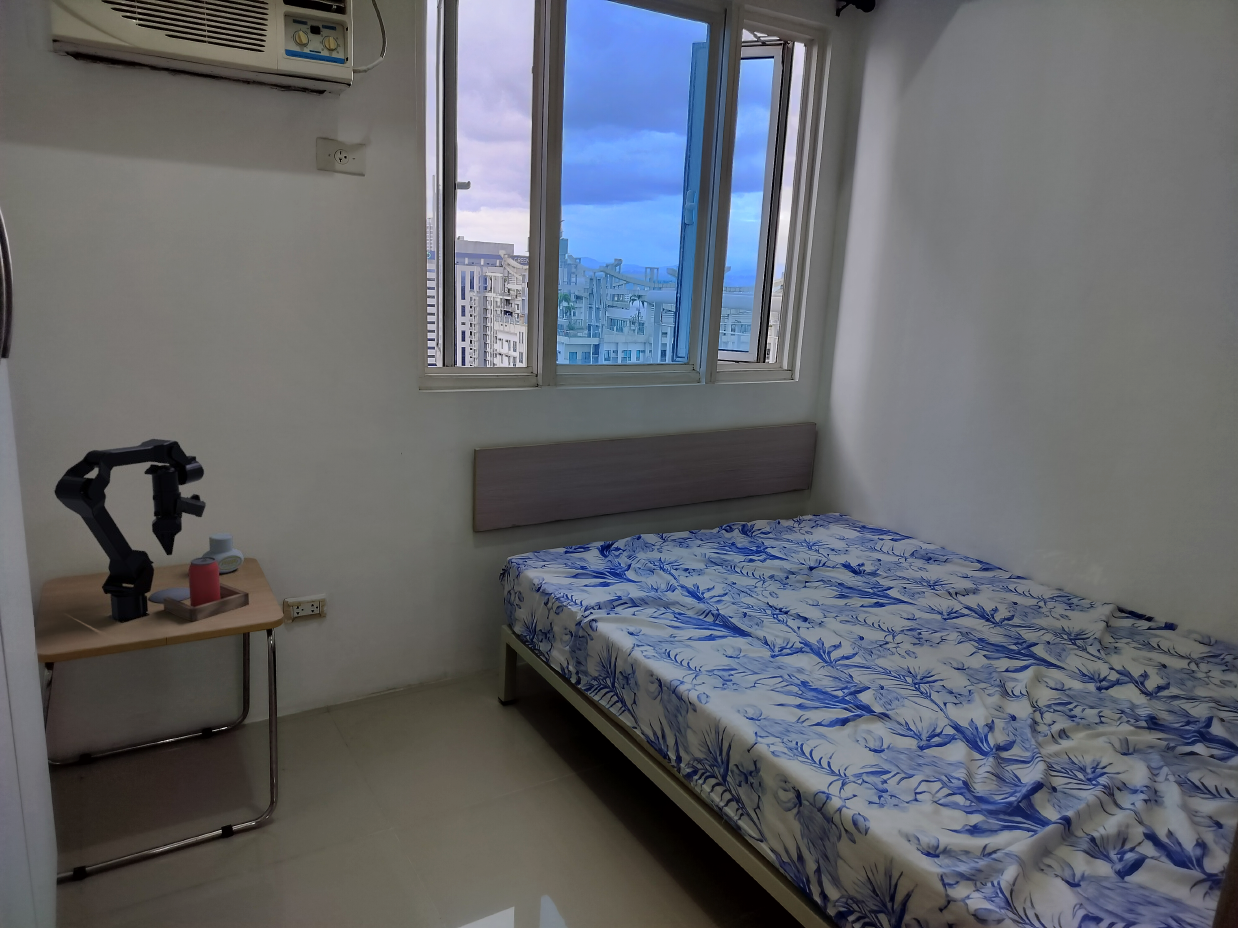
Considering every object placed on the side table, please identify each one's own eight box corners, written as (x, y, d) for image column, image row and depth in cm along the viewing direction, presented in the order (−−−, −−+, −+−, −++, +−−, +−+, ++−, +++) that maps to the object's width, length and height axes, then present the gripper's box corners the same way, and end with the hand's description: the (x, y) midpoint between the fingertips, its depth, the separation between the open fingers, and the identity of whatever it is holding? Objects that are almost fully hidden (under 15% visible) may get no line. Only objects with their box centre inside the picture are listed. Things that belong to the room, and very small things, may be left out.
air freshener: (210, 578, 214) (208, 542, 212) (195, 571, 219) (193, 536, 217) (249, 569, 223) (247, 535, 221) (234, 562, 228) (232, 529, 226)
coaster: (163, 605, 194) (163, 604, 194) (141, 596, 199) (141, 595, 199) (202, 594, 202) (202, 593, 202) (181, 586, 207) (180, 584, 207)
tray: (192, 621, 185) (191, 609, 185) (164, 609, 191) (163, 597, 191) (249, 604, 197) (248, 593, 197) (220, 593, 204) (219, 582, 203)
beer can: (226, 602, 198) (223, 557, 195) (210, 612, 191) (207, 565, 189) (201, 600, 198) (198, 555, 196) (184, 610, 192) (181, 563, 189)
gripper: (203, 495, 191) (206, 557, 194) (202, 479, 207) (205, 536, 210) (149, 499, 186) (154, 562, 189) (153, 482, 202) (157, 540, 205)
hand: (170, 549), depth 198 cm, fingers open, 9 cm apart
